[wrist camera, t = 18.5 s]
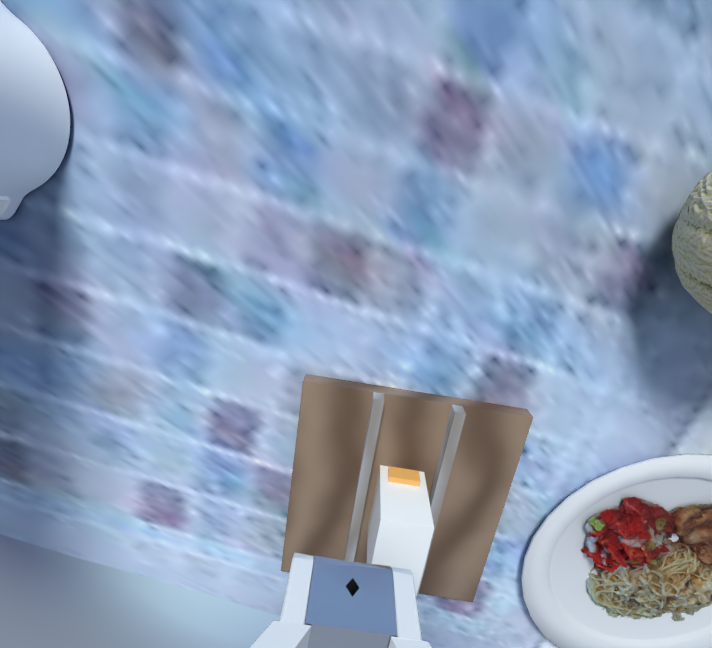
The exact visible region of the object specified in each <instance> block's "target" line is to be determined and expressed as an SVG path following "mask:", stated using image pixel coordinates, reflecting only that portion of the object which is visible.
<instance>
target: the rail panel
mask: <svg viewBox="0 0 712 648" xmlns="http://www.w3.org/2000/svg"><path fill="white" fill-rule="evenodd" d="M532 419H533V416H532V415H531V414H530V413H529V411H528V410H527V409H522V408H516V407H509V406H503V405H497V404H491V403H484V402H478V401H472V400H465V399H459V398H453V397H446V396H440V395H434V394H427V393H421V392H415V391H408V390H402V389H396V388H389V387H383V386H377V385H370V384H364V383H358V382H351V381H345V380H339V379H332V378H326V377H320V376H313V375H307V374H306V375H305V378H304V380H303V387H302V395H301V404H300V412H299V421H298V430H297V438H296V447H295V455H294V464H293V473H292V481H291V490H290V498H289V507H288V515H287V524H286V533H285V541H284V550H283V558H282V567H281V571H285V572H290V568H291V563H292V559H293V556H294V553H301V554H307V555H313V556H320V557H326V558H331V559H337V560H343V561H349V562H352V561H353V562H361V563H367V533H368V523H369V518H370V513H371V508H372V503H373V498H374V493H375V488H376V483H377V478H378V473H379V468H380V465H383V466H391V467H397V468H403V469H410V470H416V471H420V472H424V474H425V480H426V485H427V491H428V496H429V502H430V507H431V513H432V518H433V524H434V532H433V535H432V539H431V543H430V547H429V550H428V554H427V558H426V562H425V566H424V569H423V573H422V577H421V581H420V584H419V588H418V592H417V596H418V593H421V594H427V595H433V596H439V597H445V598H452V599H458V600H464V601H470V602H473V599H474V596H475V593H476V590H477V587H478V584H479V581H480V578H481V575H482V572H483V569H484V566H485V563H486V560H487V557H488V554H489V551H490V547H491V544H492V541H493V538H494V535H495V532H496V529H497V526H498V523H499V520H500V517H501V514H502V511H503V508H504V505H505V502H506V499H507V496H508V493H509V489H510V486H511V483H512V480H513V477H514V474H515V471H516V468H517V465H518V462H519V459H520V456H521V453H522V450H523V447H524V444H525V441H526V438H527V435H528V431H529V428H530V425H531V422H532ZM417 596H416V600H417Z"/></svg>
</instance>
